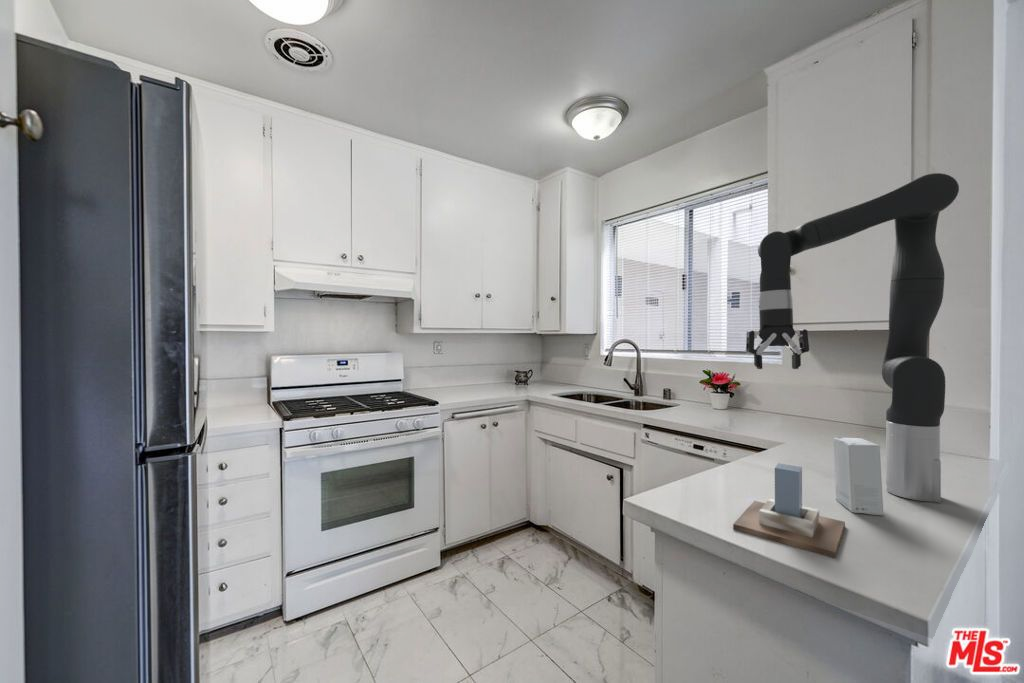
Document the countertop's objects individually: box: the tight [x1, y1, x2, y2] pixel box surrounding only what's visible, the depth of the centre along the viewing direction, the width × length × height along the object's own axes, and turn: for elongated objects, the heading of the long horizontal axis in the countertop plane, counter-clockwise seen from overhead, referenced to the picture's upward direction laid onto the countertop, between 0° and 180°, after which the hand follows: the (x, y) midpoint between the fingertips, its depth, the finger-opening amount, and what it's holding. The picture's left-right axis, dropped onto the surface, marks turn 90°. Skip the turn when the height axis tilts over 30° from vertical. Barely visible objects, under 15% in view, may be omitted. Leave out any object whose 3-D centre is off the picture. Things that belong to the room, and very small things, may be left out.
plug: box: [774, 463, 803, 518], centre depth 82 cm, size 4×4×11 cm
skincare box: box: [832, 437, 884, 516], centre depth 92 cm, size 8×6×15 cm
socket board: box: [732, 498, 846, 558], centre depth 82 cm, size 16×16×4 cm
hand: (777, 368), depth 110 cm, fingers open, 8 cm apart
